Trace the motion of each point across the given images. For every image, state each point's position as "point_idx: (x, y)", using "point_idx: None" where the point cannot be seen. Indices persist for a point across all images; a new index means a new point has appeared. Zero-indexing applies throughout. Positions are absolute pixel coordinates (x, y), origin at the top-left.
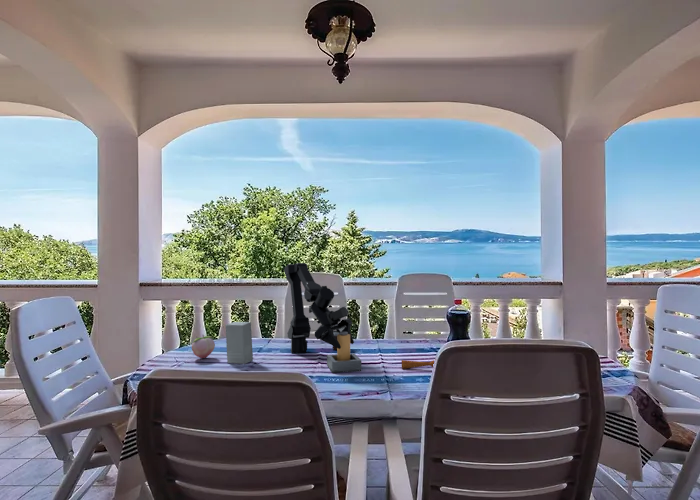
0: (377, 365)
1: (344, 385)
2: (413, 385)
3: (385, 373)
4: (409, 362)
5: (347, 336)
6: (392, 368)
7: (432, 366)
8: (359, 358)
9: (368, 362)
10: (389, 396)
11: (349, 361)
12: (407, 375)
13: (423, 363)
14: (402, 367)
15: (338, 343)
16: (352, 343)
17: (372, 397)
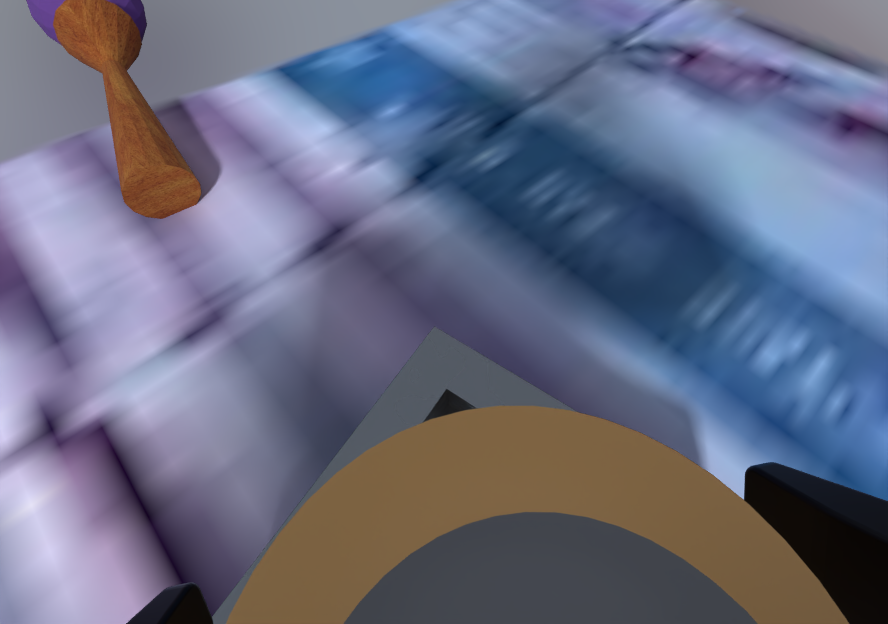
0: (189, 389)
1: (799, 225)
2: (457, 30)
3: (366, 214)
4: (153, 131)
5: (563, 416)
6: (217, 252)
7: (129, 65)
8: (381, 396)
9: (116, 541)
10: (672, 14)
11: (560, 404)
12: (319, 117)
13: (128, 81)
14: (198, 187)
15: (874, 505)
16: (204, 618)
17: (756, 40)
